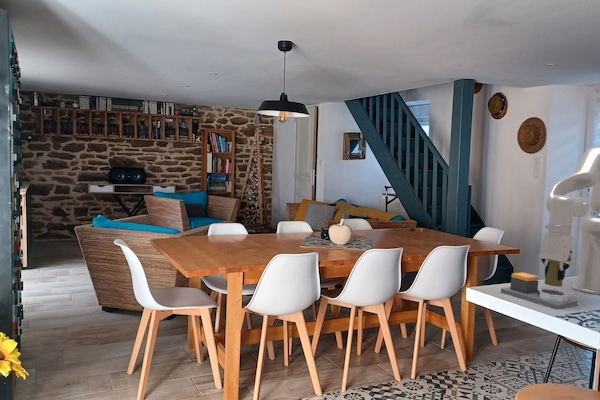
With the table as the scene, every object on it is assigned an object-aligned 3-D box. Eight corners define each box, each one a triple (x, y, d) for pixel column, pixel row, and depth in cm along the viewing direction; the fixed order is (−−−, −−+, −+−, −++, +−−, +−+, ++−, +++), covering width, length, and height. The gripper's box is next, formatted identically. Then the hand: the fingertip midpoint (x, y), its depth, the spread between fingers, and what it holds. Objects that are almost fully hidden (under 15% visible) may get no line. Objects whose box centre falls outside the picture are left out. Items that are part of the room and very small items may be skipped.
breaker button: (521, 283, 200) (522, 272, 199) (537, 287, 194) (538, 276, 193) (510, 284, 196) (511, 273, 196) (527, 289, 190) (528, 277, 190)
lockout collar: (546, 294, 192) (547, 287, 192) (571, 300, 184) (572, 294, 184) (532, 296, 187) (533, 290, 187) (557, 303, 179) (557, 296, 179)
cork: (564, 287, 181) (568, 257, 180) (546, 285, 182) (550, 255, 182) (559, 283, 187) (562, 254, 186) (542, 281, 188) (545, 253, 187)
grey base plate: (520, 289, 203) (521, 274, 203) (576, 305, 184) (578, 289, 184) (500, 292, 196) (502, 277, 196) (557, 309, 177) (559, 292, 177)
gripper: (532, 226, 188) (527, 274, 190) (576, 234, 174) (570, 285, 176) (543, 226, 192) (538, 273, 194) (588, 233, 178) (582, 283, 180)
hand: (554, 278), depth 185 cm, fingers closed on cork, 4 cm apart
